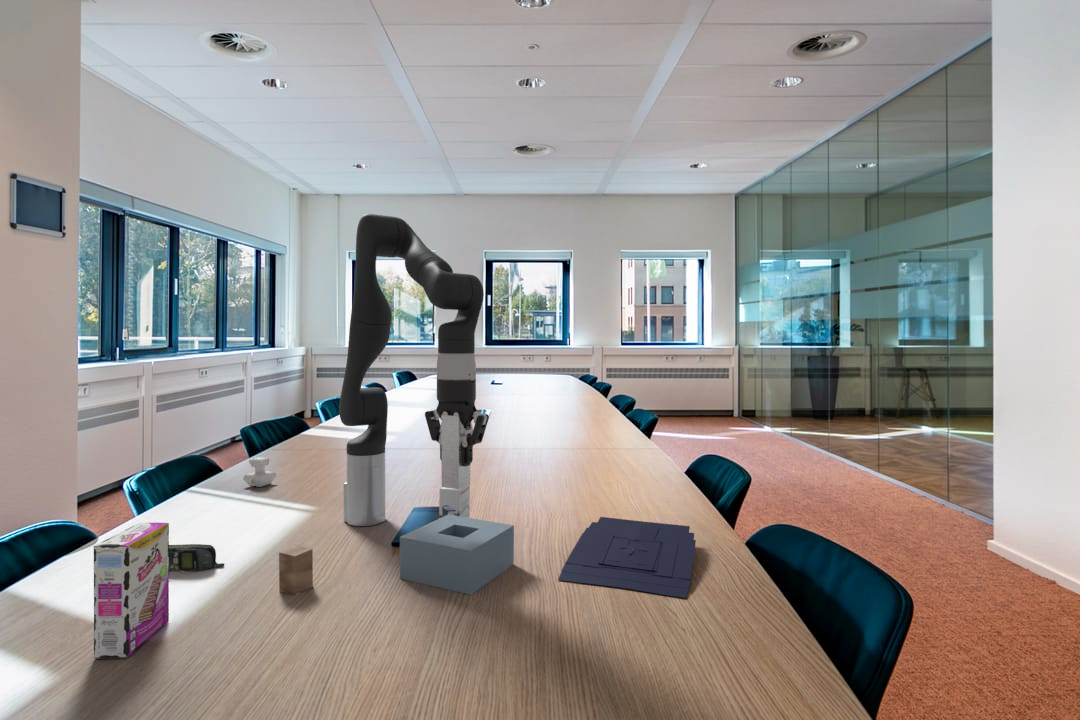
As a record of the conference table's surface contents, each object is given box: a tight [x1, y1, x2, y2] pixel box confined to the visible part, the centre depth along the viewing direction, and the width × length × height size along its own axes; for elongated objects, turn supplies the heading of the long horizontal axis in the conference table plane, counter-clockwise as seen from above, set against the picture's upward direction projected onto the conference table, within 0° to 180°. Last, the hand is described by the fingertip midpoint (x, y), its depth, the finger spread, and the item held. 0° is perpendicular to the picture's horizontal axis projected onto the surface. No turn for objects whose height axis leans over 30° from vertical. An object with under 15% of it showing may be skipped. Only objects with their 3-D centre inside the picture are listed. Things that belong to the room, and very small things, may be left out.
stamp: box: [243, 456, 277, 488], centre depth 181 cm, size 9×7×8 cm
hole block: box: [399, 515, 515, 596], centre depth 116 cm, size 16×16×8 cm
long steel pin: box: [440, 415, 471, 489], centre depth 115 cm, size 4×4×14 cm
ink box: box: [438, 484, 471, 519], centre depth 138 cm, size 9×5×12 cm, turn 168°
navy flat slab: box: [557, 516, 697, 599], centre depth 123 cm, size 24×30×4 cm
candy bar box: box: [93, 522, 170, 660], centre depth 89 cm, size 11×5×16 cm, turn 5°
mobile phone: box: [169, 543, 225, 573], centre depth 116 cm, size 5×3×15 cm
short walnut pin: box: [278, 545, 314, 596], centre depth 108 cm, size 4×4×7 cm
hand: (456, 464), depth 115 cm, fingers closed on long steel pin, 4 cm apart
